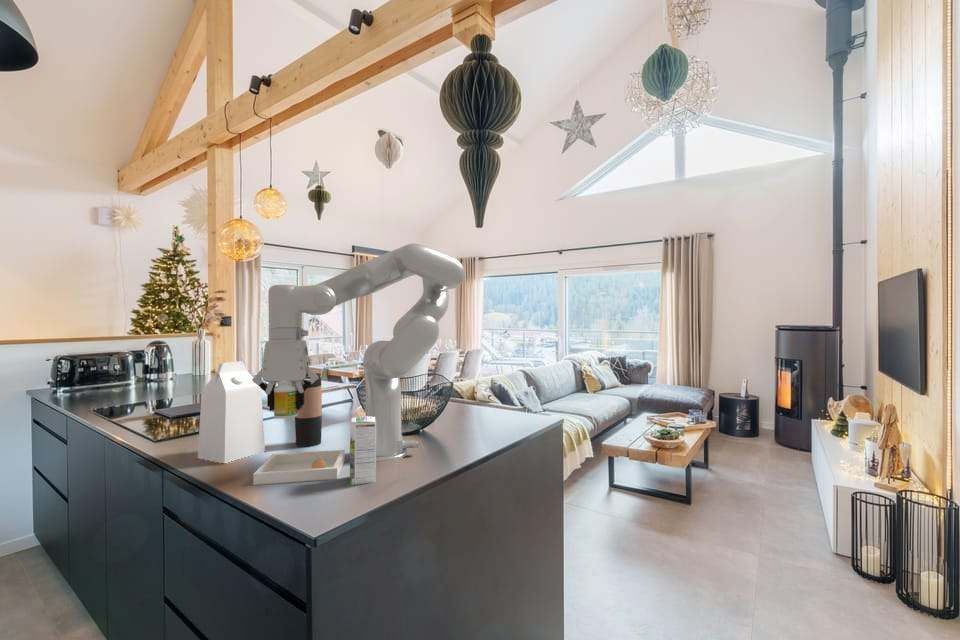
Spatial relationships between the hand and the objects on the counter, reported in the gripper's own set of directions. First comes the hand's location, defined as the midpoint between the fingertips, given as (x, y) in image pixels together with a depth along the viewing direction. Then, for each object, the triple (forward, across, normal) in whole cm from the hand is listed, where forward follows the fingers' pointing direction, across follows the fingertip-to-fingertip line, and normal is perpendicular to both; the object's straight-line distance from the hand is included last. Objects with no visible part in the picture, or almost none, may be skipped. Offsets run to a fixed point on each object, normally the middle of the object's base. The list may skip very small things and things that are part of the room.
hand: (286, 408), depth 106 cm
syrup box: (+16, -19, +10) cm, 27 cm away
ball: (+15, -8, +3) cm, 18 cm away
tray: (+16, -4, +1) cm, 16 cm away
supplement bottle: (+2, 0, 0) cm, 2 cm away
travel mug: (+16, 0, -26) cm, 31 cm away
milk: (+16, +19, -19) cm, 31 cm away
